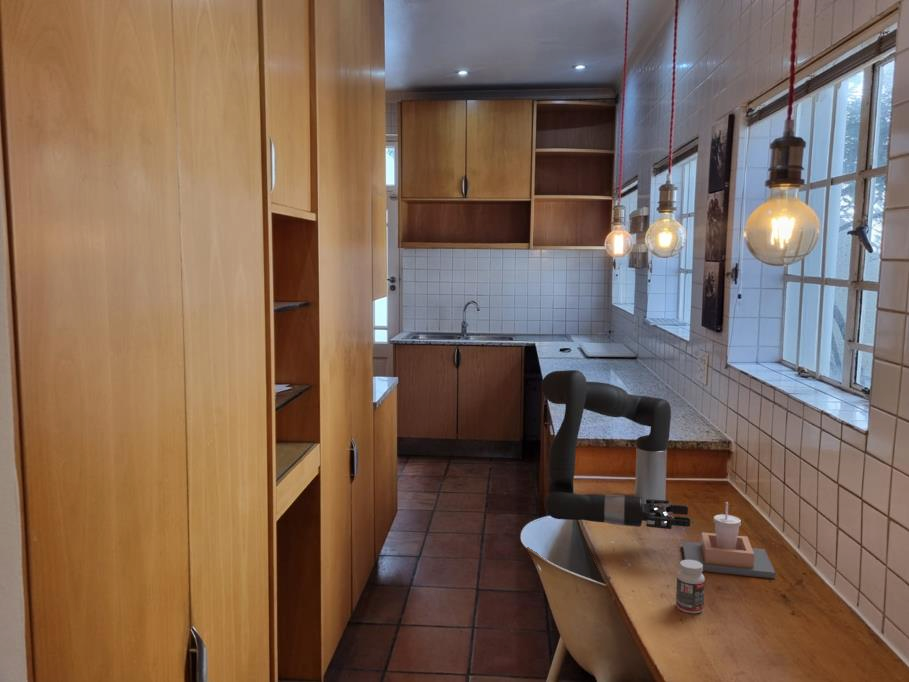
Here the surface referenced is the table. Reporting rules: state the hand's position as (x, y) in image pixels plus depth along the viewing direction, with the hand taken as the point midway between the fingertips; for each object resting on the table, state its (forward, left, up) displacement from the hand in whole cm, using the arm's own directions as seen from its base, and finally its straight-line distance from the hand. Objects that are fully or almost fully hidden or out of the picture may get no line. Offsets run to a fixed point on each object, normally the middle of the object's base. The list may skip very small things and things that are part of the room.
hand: (688, 516), depth 171 cm
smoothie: (-1, +9, -10) cm, 13 cm away
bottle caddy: (-2, +9, -11) cm, 14 cm away
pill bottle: (+27, +3, -11) cm, 29 cm away
